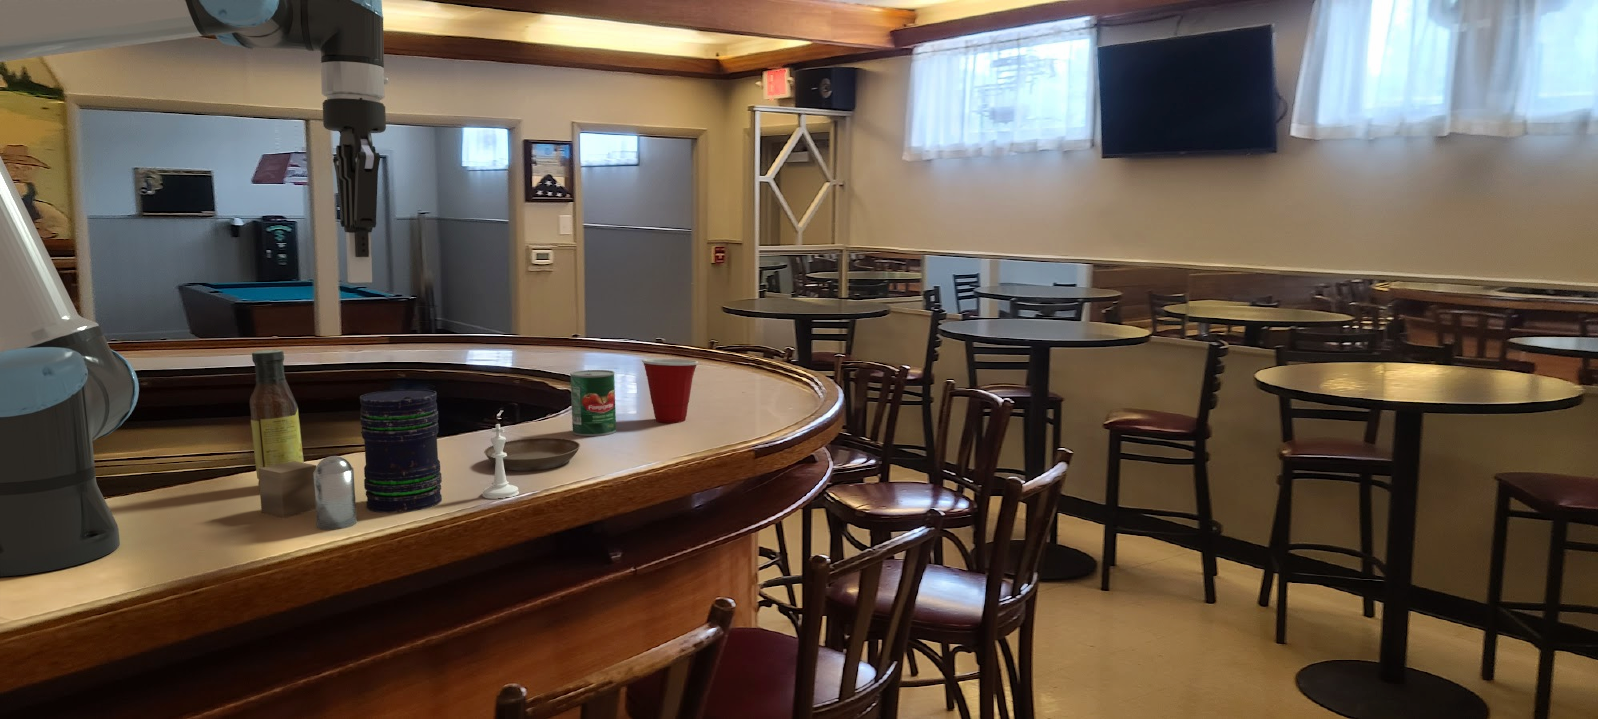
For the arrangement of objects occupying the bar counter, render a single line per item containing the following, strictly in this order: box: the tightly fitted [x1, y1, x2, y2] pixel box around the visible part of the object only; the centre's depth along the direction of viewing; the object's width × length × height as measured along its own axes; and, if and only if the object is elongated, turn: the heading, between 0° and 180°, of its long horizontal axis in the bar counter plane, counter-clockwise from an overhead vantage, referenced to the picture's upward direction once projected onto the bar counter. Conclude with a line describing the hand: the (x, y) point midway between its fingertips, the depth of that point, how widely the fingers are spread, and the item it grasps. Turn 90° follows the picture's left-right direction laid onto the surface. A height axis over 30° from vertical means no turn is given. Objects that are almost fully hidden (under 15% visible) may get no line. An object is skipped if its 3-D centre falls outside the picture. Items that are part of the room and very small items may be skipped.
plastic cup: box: [641, 358, 699, 424], centre depth 200 cm, size 11×11×12 cm
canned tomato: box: [569, 369, 617, 437], centre depth 189 cm, size 8×8×11 cm
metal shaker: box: [313, 455, 358, 531], centre depth 131 cm, size 5×5×9 cm
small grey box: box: [258, 461, 317, 519], centre depth 138 cm, size 5×5×6 cm
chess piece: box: [482, 423, 520, 500], centre depth 145 cm, size 5×5×10 cm
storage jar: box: [359, 388, 443, 514], centre depth 141 cm, size 10×10×15 cm
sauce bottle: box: [249, 349, 305, 488], centre depth 150 cm, size 7×6×20 cm
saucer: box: [483, 437, 581, 472], centre depth 166 cm, size 15×15×3 cm
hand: (360, 282), depth 138 cm, fingers closed
